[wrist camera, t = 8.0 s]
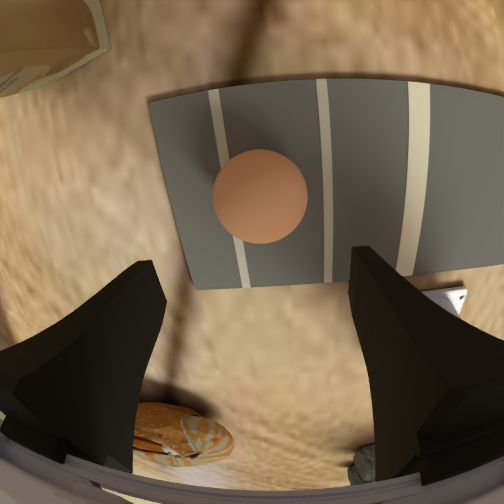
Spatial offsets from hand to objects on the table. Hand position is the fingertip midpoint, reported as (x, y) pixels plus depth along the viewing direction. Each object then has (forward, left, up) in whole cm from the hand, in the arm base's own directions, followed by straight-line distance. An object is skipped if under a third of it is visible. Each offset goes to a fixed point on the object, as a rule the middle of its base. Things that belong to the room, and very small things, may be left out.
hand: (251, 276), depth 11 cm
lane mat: (-1, -8, -9) cm, 12 cm away
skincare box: (+12, +11, -10) cm, 19 cm away
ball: (0, 0, -6) cm, 7 cm away
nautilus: (-28, +17, -10) cm, 34 cm away
